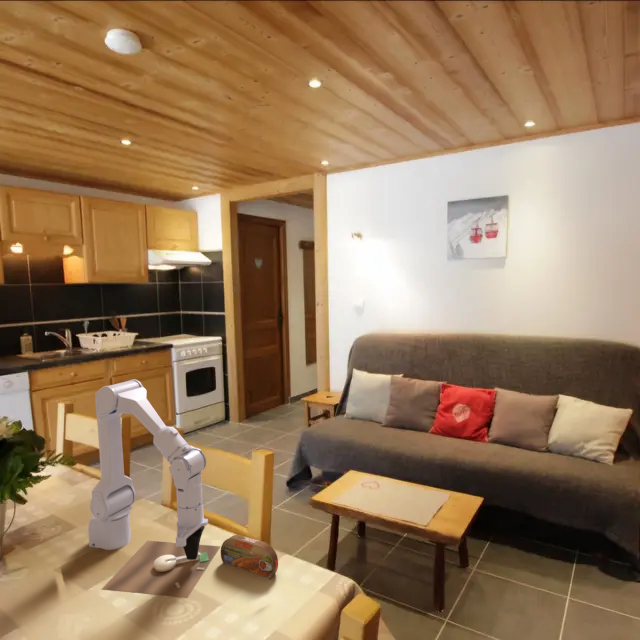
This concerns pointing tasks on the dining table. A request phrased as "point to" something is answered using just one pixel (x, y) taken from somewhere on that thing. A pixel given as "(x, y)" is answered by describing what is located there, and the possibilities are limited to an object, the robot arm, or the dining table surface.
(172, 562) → the peg
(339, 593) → the dining table surface
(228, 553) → the tin
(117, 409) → the robot arm
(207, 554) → the board
